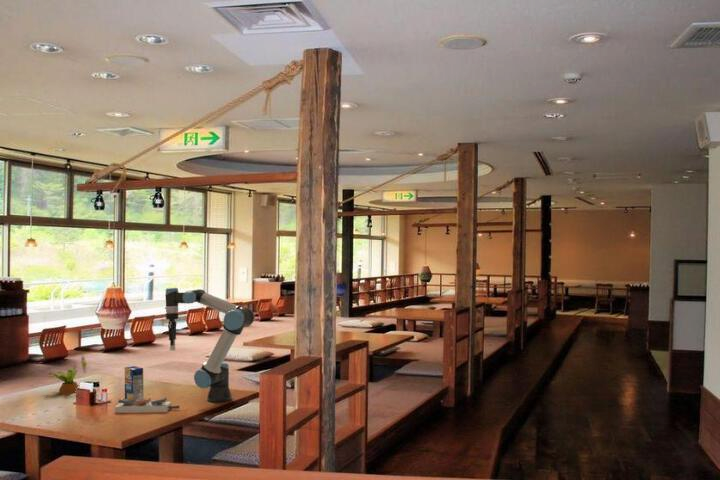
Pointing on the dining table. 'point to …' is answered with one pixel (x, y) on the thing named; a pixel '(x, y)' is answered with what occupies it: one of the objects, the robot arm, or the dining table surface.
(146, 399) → the rocker
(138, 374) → the beverage box
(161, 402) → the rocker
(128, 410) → the power strip
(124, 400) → the rocker
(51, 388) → the dining table surface
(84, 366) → the decorative plant
